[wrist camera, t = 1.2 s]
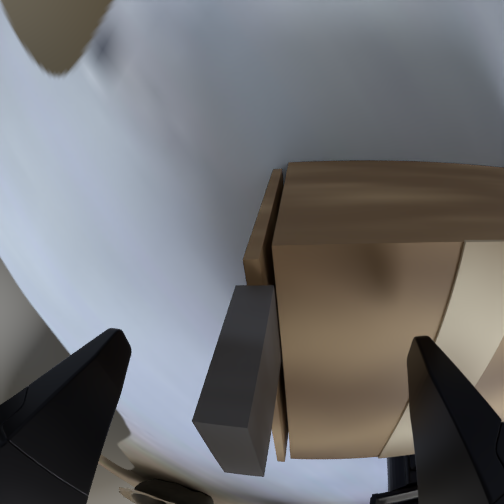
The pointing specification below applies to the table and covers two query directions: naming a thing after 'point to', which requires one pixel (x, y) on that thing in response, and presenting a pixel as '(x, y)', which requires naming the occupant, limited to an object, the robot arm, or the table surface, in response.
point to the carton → (384, 294)
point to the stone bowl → (163, 494)
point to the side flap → (249, 361)
